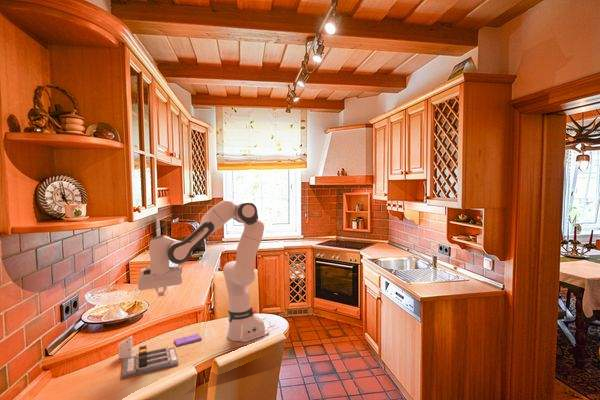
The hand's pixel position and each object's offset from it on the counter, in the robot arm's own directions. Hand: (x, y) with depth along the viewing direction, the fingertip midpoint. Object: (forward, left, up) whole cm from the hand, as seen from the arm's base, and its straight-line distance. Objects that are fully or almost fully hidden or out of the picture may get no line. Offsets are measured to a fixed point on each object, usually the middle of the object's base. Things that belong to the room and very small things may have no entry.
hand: (161, 296), depth 160 cm
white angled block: (+16, +1, -26) cm, 31 cm away
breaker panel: (+6, +14, -26) cm, 30 cm away
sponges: (-12, -2, -27) cm, 30 cm away
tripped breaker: (+9, +14, -25) cm, 29 cm away
